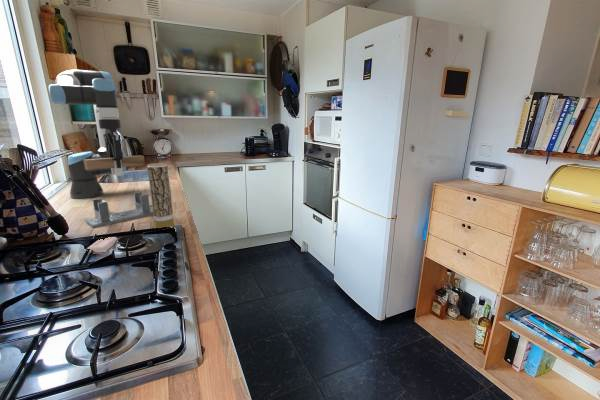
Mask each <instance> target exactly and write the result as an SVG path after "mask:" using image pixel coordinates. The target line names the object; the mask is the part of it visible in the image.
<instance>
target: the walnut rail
mask: <svg viewBox="0 0 600 400" xmlns="http://www.w3.org/2000/svg"><path fill="white" fill-rule="evenodd" d="M112 159H114V157H112V158H99V159H87V160H83V161H84V167H85V170H98V169H108V168H115V167H114V161H113V160H112ZM121 162H122V167H126V168H127V167H136V166H138V167H139V166H145V165H146V163H145V162H146V161H145V156H144V155H129V156H128V155H126V156H125V157H123V159H122V160H121Z"/></svg>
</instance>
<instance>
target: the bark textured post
mask: <svg viewBox="0 0 600 400" xmlns="http://www.w3.org/2000/svg"><path fill="white" fill-rule="evenodd" d="M146 167H147V174H148V182H149V183H148V184H149V189H150V198H151V207H153V221H154V222H153V223H154V228H155V229H156V228H162V227H170V226H174V227H175V222H174V213H173V204H172V203H173V202H172V195H171V194H172V193H171V185H170V177H169V167H168V163H165V162H163V163H162V162H161V163H160V162H158V163H157V162H155V163H149V164H147V166H146Z"/></svg>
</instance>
